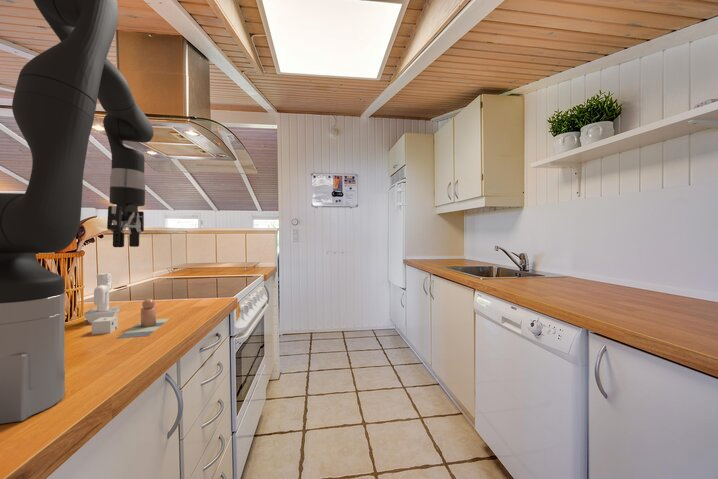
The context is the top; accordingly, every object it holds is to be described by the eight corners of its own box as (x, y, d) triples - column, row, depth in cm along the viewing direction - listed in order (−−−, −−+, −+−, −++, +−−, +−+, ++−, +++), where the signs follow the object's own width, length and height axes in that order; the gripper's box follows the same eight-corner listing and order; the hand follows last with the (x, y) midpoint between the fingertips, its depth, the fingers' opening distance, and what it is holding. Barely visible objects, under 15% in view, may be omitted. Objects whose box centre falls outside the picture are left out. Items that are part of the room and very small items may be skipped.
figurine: (81, 328, 81) (81, 275, 81) (92, 319, 89) (92, 271, 89) (114, 324, 84) (114, 274, 84) (121, 316, 93) (122, 270, 92)
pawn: (153, 326, 81) (153, 299, 81) (138, 327, 80) (138, 300, 80) (158, 323, 85) (158, 297, 85) (143, 323, 84) (143, 297, 84)
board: (148, 338, 74) (148, 335, 74) (115, 340, 72) (115, 338, 72) (169, 320, 89) (169, 318, 89) (143, 322, 87) (143, 320, 87)
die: (110, 335, 76) (110, 320, 76) (91, 337, 75) (91, 321, 75) (117, 330, 80) (118, 316, 80) (100, 332, 78) (100, 317, 78)
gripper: (131, 183, 72) (130, 247, 72) (154, 192, 86) (153, 246, 86) (95, 181, 70) (94, 247, 70) (124, 191, 84) (123, 246, 83)
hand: (126, 247), depth 78 cm, fingers open, 8 cm apart
